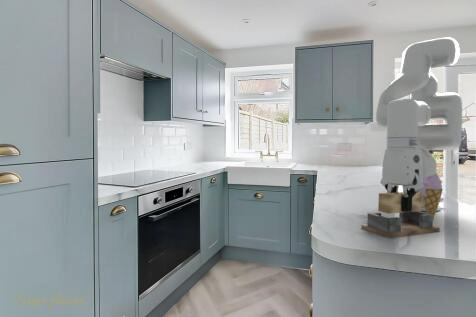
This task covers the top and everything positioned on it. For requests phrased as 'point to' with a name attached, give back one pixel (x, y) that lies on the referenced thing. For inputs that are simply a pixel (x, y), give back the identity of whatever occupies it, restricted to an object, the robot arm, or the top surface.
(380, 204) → the beige rectangular block
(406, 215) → the rail
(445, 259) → the top surface
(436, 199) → the ice cream cone
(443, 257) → the top surface
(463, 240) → the top surface
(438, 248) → the top surface
